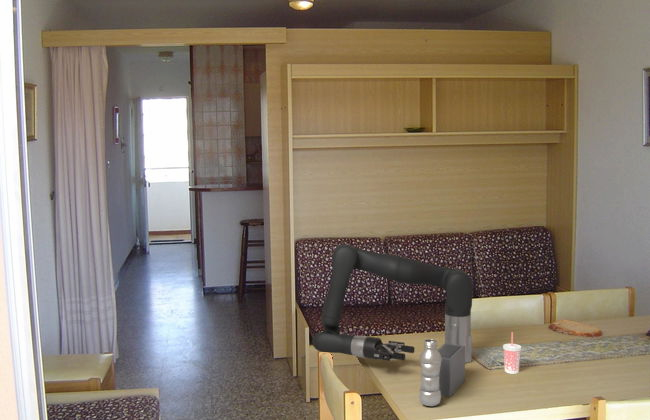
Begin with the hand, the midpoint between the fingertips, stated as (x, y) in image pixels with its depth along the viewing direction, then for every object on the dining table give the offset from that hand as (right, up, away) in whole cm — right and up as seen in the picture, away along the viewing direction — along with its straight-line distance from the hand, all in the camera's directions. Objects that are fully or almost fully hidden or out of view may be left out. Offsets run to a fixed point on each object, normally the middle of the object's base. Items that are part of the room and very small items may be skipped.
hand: (409, 353), depth 227 cm
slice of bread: (+76, -2, +51) cm, 91 cm away
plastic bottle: (+3, -11, -24) cm, 26 cm away
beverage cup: (+36, -7, +4) cm, 37 cm away
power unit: (+11, -9, -10) cm, 17 cm away
